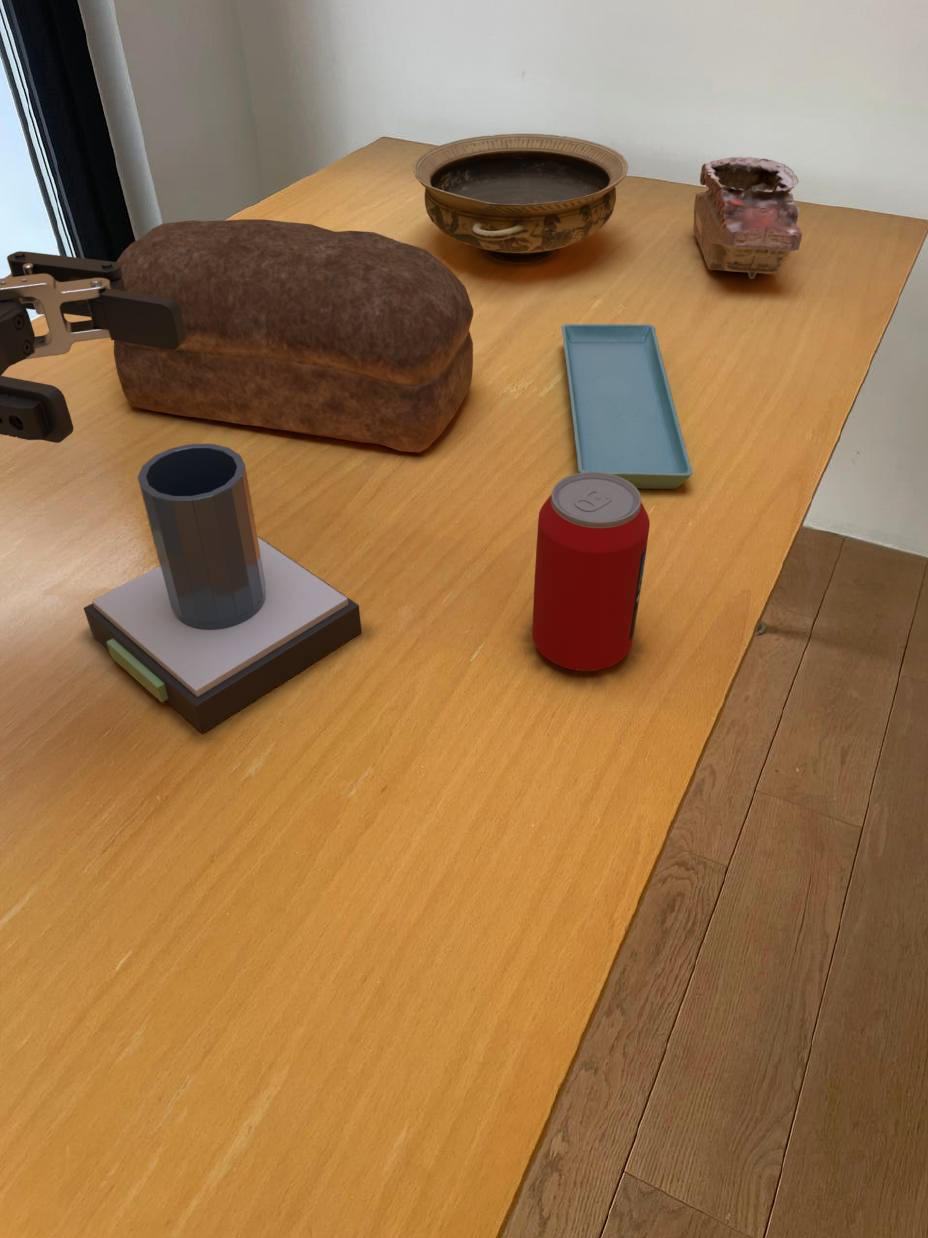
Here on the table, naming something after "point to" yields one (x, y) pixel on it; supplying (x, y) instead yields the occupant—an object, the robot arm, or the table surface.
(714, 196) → the decorative box
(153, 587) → the scale
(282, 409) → the bread
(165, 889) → the table surface
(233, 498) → the cup
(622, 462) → the teal serving tray
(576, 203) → the ceramic bowl
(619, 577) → the beverage can
